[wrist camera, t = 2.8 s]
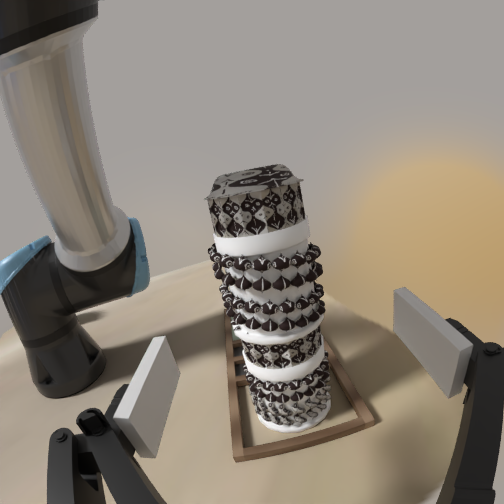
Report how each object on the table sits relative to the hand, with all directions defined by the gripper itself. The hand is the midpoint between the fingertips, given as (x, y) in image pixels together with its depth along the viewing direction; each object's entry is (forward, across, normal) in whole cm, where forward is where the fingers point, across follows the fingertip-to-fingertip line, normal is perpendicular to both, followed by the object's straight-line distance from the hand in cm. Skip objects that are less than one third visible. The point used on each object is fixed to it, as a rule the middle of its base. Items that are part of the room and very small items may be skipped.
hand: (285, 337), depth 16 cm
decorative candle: (+10, 0, -16) cm, 19 cm away
